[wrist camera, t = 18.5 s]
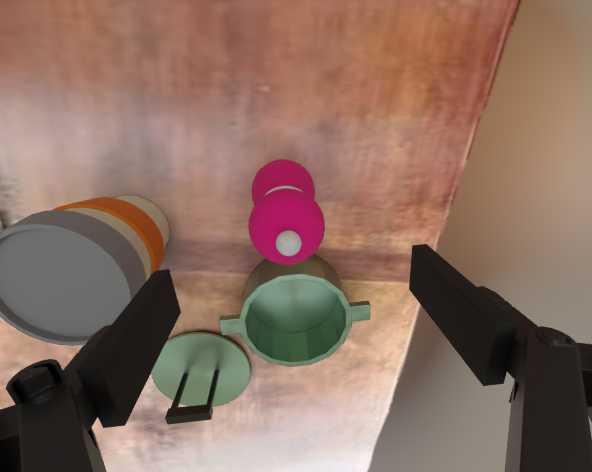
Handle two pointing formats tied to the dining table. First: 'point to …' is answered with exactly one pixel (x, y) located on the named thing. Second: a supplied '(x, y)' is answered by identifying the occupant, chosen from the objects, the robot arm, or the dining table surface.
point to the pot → (294, 312)
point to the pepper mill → (285, 213)
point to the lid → (200, 374)
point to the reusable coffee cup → (78, 266)
